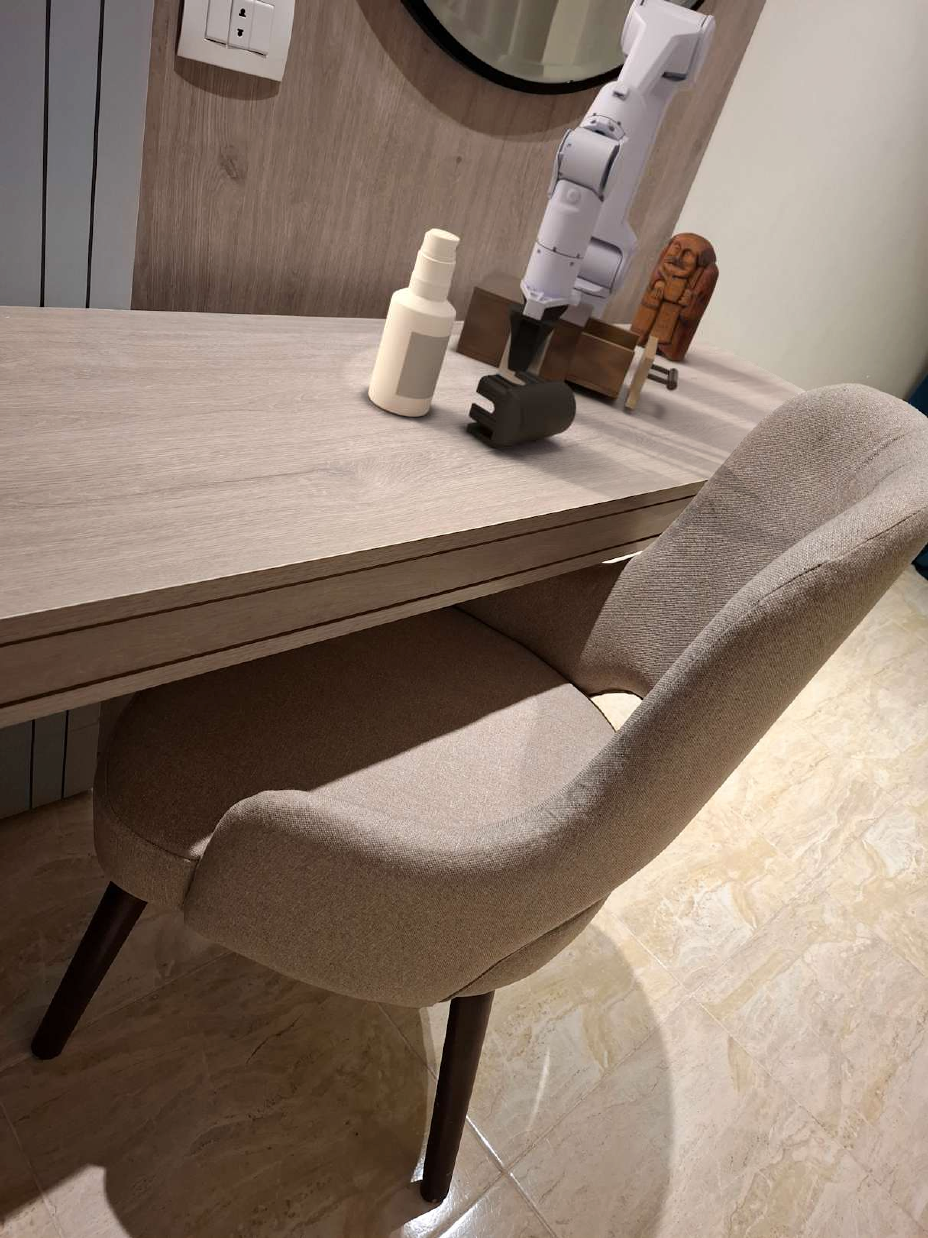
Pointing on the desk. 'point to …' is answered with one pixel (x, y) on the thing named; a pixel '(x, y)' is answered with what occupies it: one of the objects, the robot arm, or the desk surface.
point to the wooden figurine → (677, 295)
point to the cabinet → (492, 326)
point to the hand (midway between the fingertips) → (521, 362)
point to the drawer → (614, 361)
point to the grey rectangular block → (533, 367)
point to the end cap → (521, 409)
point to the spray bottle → (417, 331)
